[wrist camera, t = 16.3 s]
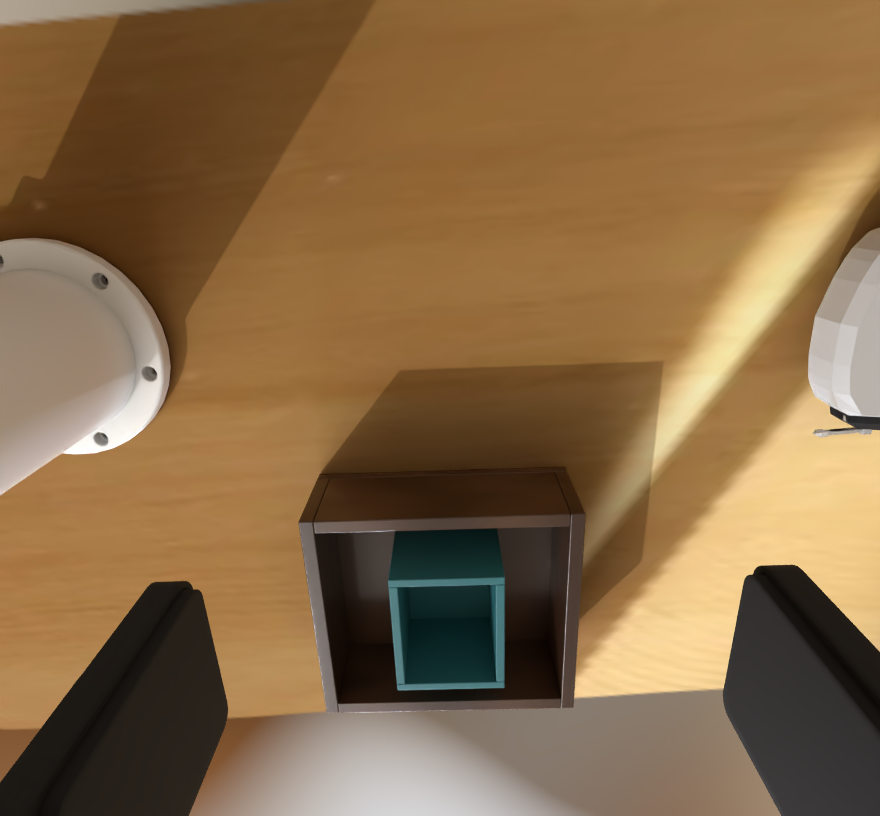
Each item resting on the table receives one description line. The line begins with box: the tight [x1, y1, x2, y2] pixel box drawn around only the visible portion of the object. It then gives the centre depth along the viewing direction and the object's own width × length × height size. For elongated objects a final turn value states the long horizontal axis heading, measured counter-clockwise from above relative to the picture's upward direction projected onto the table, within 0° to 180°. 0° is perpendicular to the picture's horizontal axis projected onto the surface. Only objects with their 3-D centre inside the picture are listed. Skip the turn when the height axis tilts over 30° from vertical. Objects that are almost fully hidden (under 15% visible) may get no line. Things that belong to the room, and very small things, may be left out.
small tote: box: [388, 528, 505, 690], centre depth 35 cm, size 8×6×6 cm
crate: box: [299, 467, 586, 713], centre depth 36 cm, size 16×14×6 cm
